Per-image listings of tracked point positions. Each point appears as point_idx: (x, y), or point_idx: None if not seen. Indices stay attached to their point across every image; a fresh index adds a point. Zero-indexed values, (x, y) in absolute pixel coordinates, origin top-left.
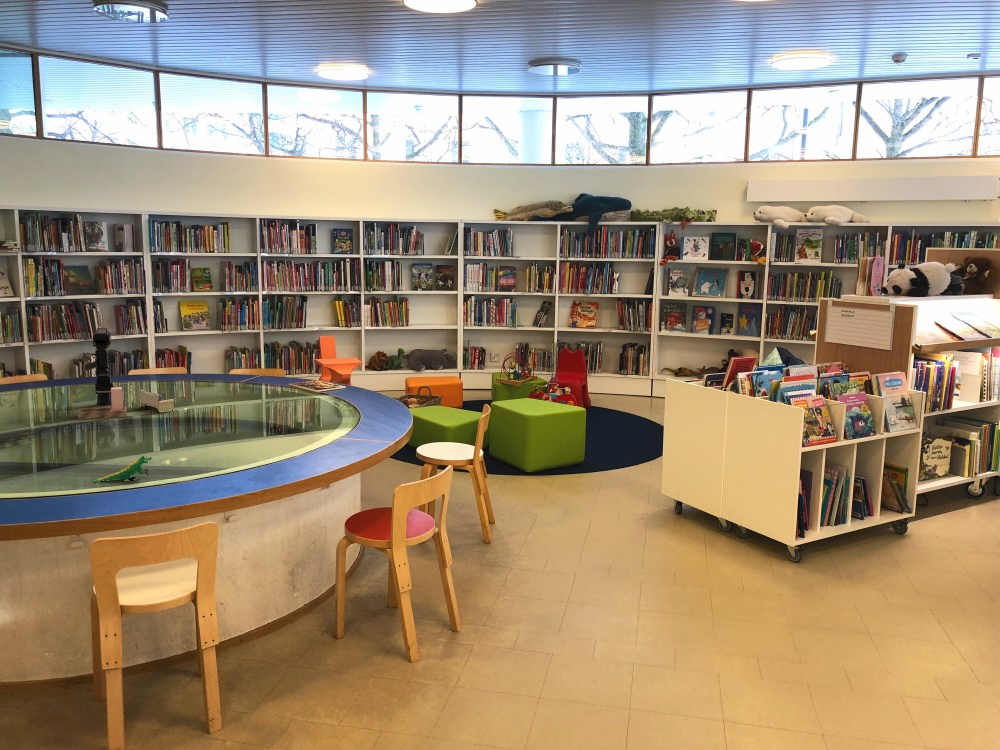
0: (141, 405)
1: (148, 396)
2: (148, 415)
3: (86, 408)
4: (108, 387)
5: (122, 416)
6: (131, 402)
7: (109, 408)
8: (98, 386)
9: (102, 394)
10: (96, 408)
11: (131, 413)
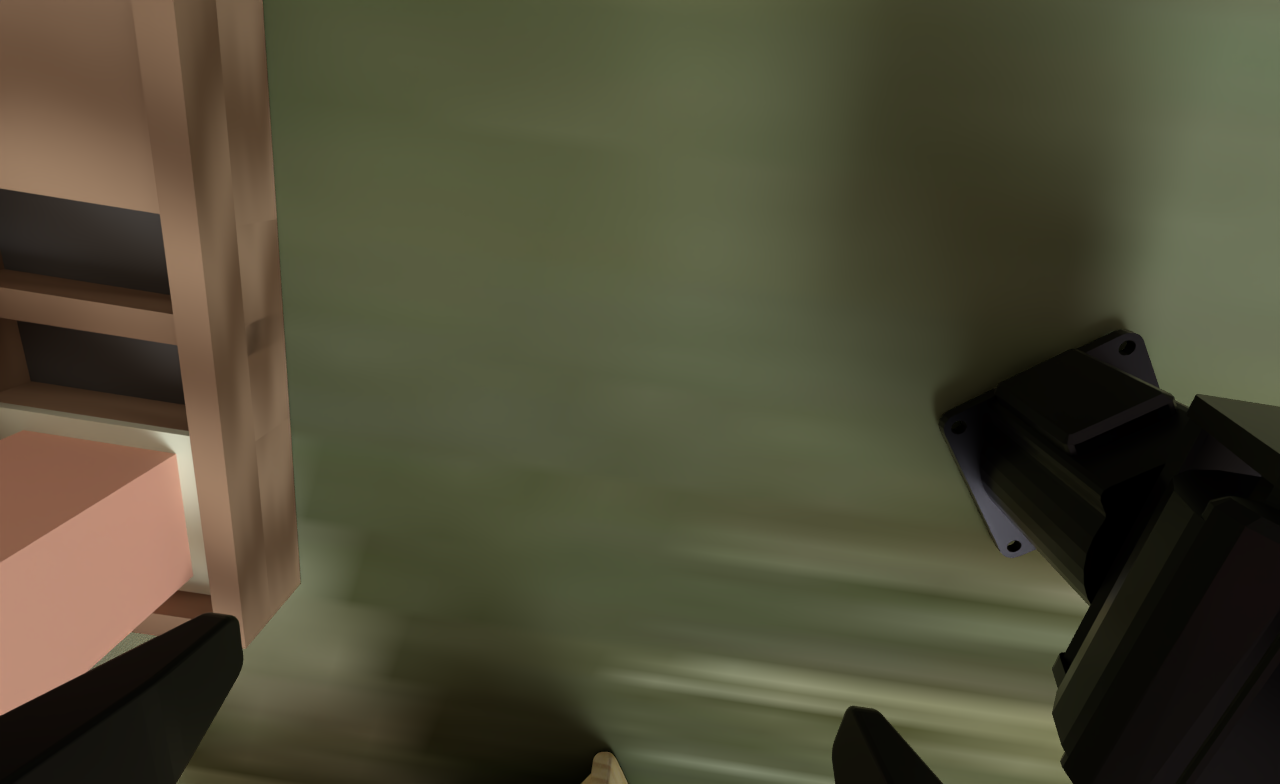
0: (589, 779)
1: None
2: None
3: (162, 57)
4: (1074, 725)
5: None
6: (980, 726)
7: (200, 437)
8: (1221, 557)
9: (1099, 506)
10: (166, 244)
11: (278, 621)
